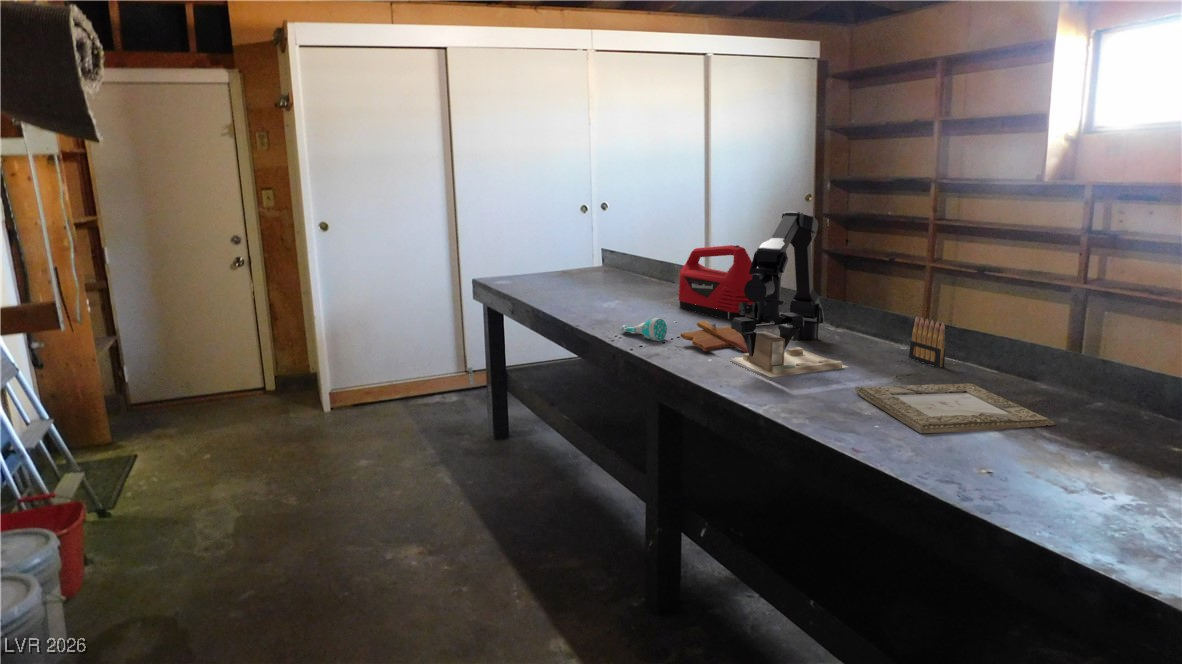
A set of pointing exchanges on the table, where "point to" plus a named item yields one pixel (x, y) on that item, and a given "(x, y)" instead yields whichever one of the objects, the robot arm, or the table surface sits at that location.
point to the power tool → (715, 283)
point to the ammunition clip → (928, 343)
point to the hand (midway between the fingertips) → (766, 354)
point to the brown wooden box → (768, 351)
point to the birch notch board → (793, 363)
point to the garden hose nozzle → (649, 329)
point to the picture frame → (950, 408)
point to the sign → (715, 337)
